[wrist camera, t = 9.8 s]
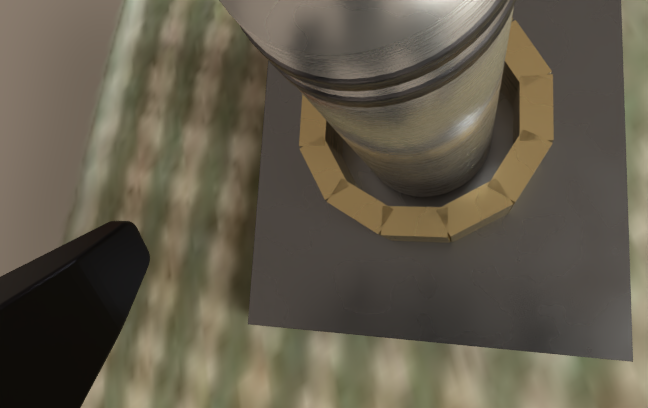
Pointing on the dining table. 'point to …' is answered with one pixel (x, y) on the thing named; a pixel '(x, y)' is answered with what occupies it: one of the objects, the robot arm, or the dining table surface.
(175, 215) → the dining table surface
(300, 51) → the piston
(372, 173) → the tube holder stand
